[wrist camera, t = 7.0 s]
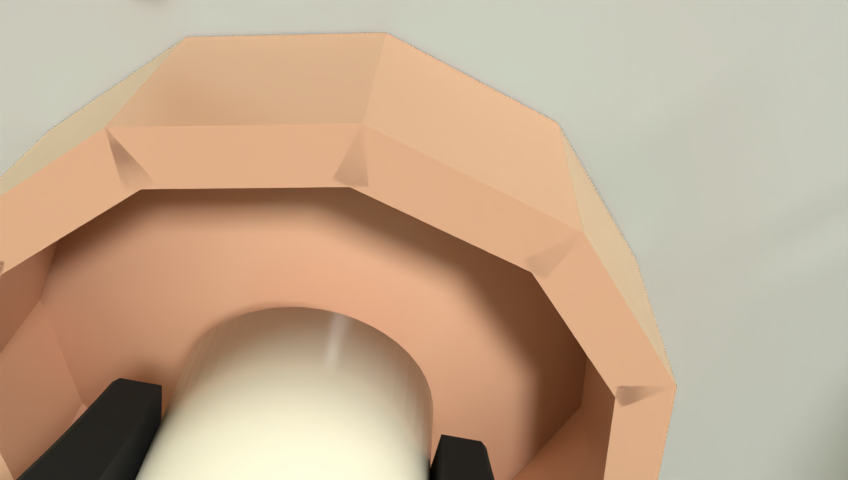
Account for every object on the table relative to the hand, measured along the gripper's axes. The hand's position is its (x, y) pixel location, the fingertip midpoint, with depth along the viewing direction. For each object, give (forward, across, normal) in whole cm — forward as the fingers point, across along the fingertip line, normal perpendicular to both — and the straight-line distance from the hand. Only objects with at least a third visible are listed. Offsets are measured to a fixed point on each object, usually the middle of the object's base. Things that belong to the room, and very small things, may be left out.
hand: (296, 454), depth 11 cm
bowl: (+3, 0, 0) cm, 3 cm away
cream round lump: (+1, 0, 0) cm, 1 cm away
